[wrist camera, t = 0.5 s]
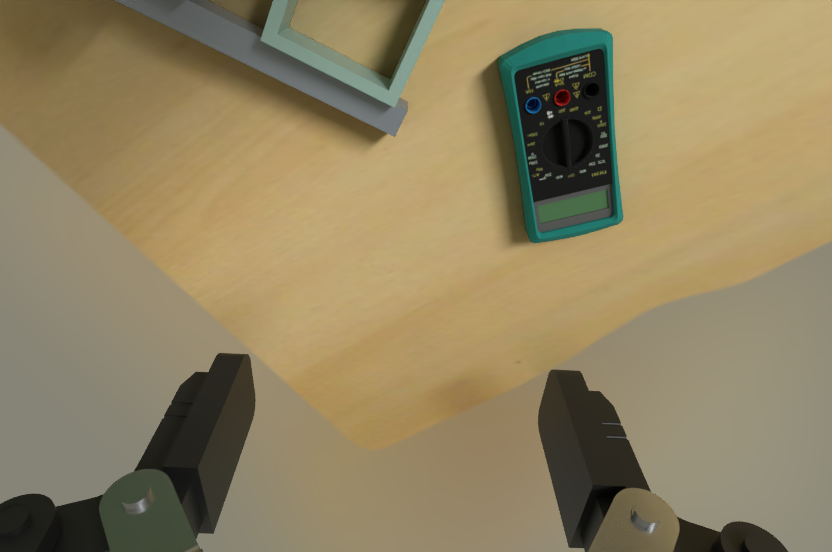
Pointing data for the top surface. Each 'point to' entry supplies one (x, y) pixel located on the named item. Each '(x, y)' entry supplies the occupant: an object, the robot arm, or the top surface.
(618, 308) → the top surface
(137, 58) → the top surface
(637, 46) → the top surface
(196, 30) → the rail
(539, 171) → the digital multimeter
